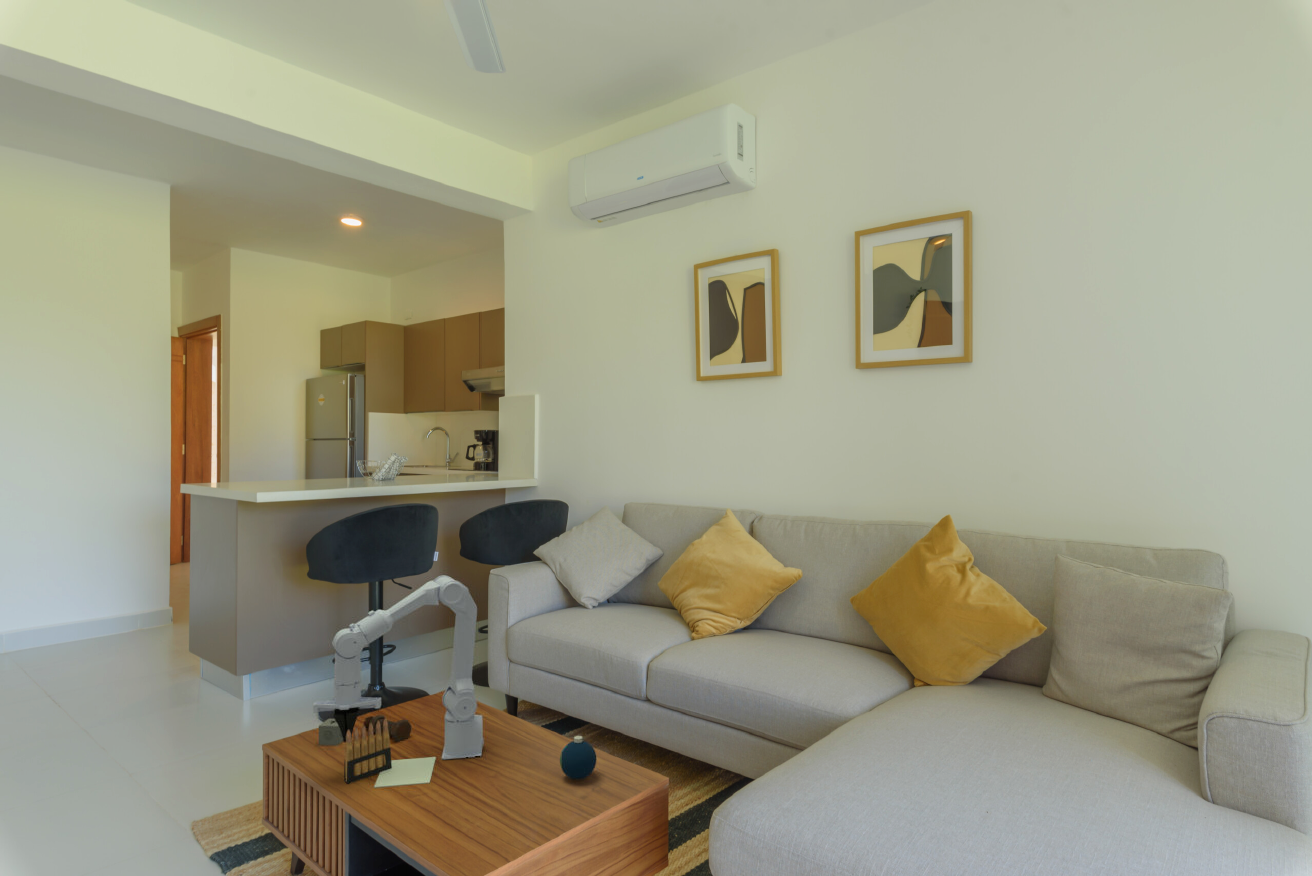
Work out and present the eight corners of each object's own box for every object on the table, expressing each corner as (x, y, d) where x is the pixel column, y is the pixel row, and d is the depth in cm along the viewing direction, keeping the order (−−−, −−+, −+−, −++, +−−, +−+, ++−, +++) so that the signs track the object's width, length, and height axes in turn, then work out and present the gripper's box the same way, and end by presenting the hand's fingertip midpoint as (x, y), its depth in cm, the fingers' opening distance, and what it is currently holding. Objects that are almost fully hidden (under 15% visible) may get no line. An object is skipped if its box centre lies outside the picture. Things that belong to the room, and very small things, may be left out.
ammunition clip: (347, 784, 167) (346, 731, 167) (343, 781, 168) (342, 729, 168) (392, 768, 175) (390, 718, 175) (388, 765, 176) (387, 716, 176)
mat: (435, 757, 181) (435, 756, 181) (429, 782, 167) (429, 782, 167) (384, 761, 179) (384, 760, 179) (374, 787, 165) (374, 786, 165)
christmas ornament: (571, 767, 175) (571, 725, 175) (602, 773, 172) (602, 730, 172) (553, 782, 168) (553, 738, 168) (585, 788, 164) (585, 743, 164)
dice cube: (347, 738, 194) (347, 719, 194) (337, 745, 189) (337, 726, 189) (328, 737, 194) (328, 718, 194) (318, 745, 189) (318, 725, 189)
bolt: (370, 734, 201) (406, 745, 192) (356, 730, 197) (391, 740, 189) (379, 713, 203) (414, 722, 195) (365, 708, 200) (400, 717, 192)
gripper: (309, 689, 166) (309, 750, 165) (377, 685, 168) (377, 744, 168) (317, 679, 172) (317, 738, 172) (382, 675, 175) (382, 733, 175)
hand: (347, 740), depth 171 cm, fingers closed
